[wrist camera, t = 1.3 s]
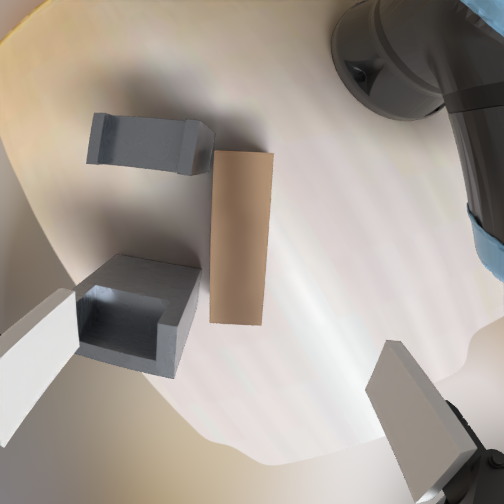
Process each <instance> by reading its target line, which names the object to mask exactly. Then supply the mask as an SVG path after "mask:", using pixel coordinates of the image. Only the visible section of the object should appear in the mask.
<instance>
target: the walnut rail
mask: <svg viewBox="0 0 504 504" xmlns="http://www.w3.org/2000/svg"><path fill="white" fill-rule="evenodd" d="M273 157H274V153H261V152H243V151H220V150H214V167H213V189H212V215H211V249H210V323H220V324H238V325H260V326H261V323H262V311H263V298H264V286H265V273H266V259H267V246H268V232H269V218H270V203H271V188H272V173H273Z"/></svg>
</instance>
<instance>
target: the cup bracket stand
mask: <svg viewBox="0 0 504 504" xmlns="http://www.w3.org/2000/svg"><path fill="white" fill-rule="evenodd" d="M214 139H215V133H214V132H212V131H211V130H210V129H209V128H208V127H207V126H206V125H205V124H204V123H202V122H201V121H200V120H191V119H186V121H180V120H170V119H159V118H147V117H132V116H113V115H110V114H106V113H94V116H93V122H92V127H91V134H90V140H89V147H88V154H87V162H86V164H96V165H99V164H108V165H118V166H128V167H137V168H145V169H153V170H161V171H169V172H177V174H182V175H189V176H192V175H197V174H201V173H206V172H209V168H210V162H211V156H212V151H213V145H214ZM200 277H201V269H198V268H192V267H186V266H181V265H175V264H169V263H164V262H158V261H153V260H147V259H142V258H136V257H131V256H125V255H120V254H117V255H115V256H114V257H113V258H111V259H110V260H109V261H108V262H106V263H105V264H104V265H102V266H101V267H100V268H98V269H97V270H96V271H95V272H93V273H92V274H91V275H89V276H88V277H87V278H86V279H84V280H83V281H82V282H81V283H79V284H78V285H77V286H76V287H74V288H73V289H72V291H75V300H76V315H77V326H78V337H79V346H80V347H79V348H78V349H77V350H76V351H75V353H74V354H78V355H81V356H84V357H87V358H91V359H94V360H98V361H101V362H105V363H108V364H112V365H116V366H120V367H124V368H127V369H131V370H135V371H140V372H144V373H148V374H153V375H157V376H162V377H166V378H171V379H174V377H175V374H176V371H177V368H178V365H179V361H180V358H181V355H182V352H183V349H184V346H185V343H186V340H187V337H188V334H189V331H190V327H191V324H192V321H193V318H194V315H195V312H196V309H197V301H198V293H199V285H200Z"/></svg>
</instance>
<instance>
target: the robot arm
mask: <svg viewBox="0 0 504 504" xmlns="http://www.w3.org/2000/svg"><path fill="white" fill-rule="evenodd" d="M331 48H332V57H333V61H334V64H335V67H336V70H337V72H338V74H339V76H340V78H341V80H342V81H343V83H344V85H345V86H346V87H347V89H348V90H349V91H350V92H351V94H352V95H353V96H354V97H355V98H356V99H357V100H358V101H360V102H361V103H362V104H363V105H364V106H366V107H367V108H369V109H370V110H372V111H373V112H375V113H377V114H379V115H381V116H384V117H386V118H390V119H393V120H399V121H412V120H417V119H422V118H426V117H429V116H432V115H433V114H435V113H437V112H439V111H440V110H441V109H442V108H443V107H444V106H445V105H446V108H447V112H448V113H449V114H448V116H449V119H450V122H451V126H452V129H453V133H454V137H455V141H456V145H457V149H458V153H459V157H460V161H461V166H462V171H463V176H464V181H465V186H466V192H467V198H468V203H467V212H468V215H469V217H470V220H471V222H472V228H473V234H474V241H475V247H476V251H477V254H478V256H479V258H480V260H481V262H482V263H483V265H484V266H485V267H486V268H487V269H488V270H489V271H491V272H492V273H493V275H494V276H495V277H496V278H497V279H499V280H500V281H502V282H503V283H504V0H365V1H362V2H359V3H357V4H355V5H354V6H352V7H351V8H350V9H349V10H347V11H346V12H345V14H344V15H343V16H342V18H341V19H340V21H339V22H338V24H337V25H336V27H335V29H334V32H333V36H332V43H331ZM79 347H80V346H79V337H78V326H77V315H76V300H75V291H72V290H68V289H64V288H59V289H58V290H57V291H55V292H54V293H53V294H51V295H50V296H49V297H48V298H46V299H45V300H44V301H42V302H41V303H40V304H39V305H38V306H36V307H35V308H34V309H33V310H31V311H30V312H29V313H28V314H26V315H25V316H24V317H23V318H21V319H20V320H19V321H18V322H16V323H15V324H14V325H13V326H12V327H10V328H9V329H8V330H7V331H6V332H5V333H3V334H2V335H1V334H0V445H1V446H2V447H5V446H6V444H7V443H8V441H9V440H10V438H11V437H12V435H13V434H14V432H15V431H16V430H17V428H18V427H19V425H20V424H21V422H22V421H23V420H24V418H25V417H26V415H27V414H28V413H29V411H30V410H31V409H32V407H33V406H34V404H35V403H36V402H37V400H38V399H39V398H40V396H41V395H42V394H43V392H44V391H45V390H46V388H47V387H48V386H49V384H50V383H51V382H52V381H53V379H54V378H55V377H56V375H57V374H58V373H59V372H60V370H61V369H62V368H63V366H64V365H65V364H66V363H67V361H68V360H69V359H70V357H71V356H72V355H73V354H74V353H75V351H76V350H77V349H78V348H79ZM365 391H366V393H367V395H368V397H369V399H370V401H371V404H372V406H373V408H374V410H375V412H376V414H377V417H378V419H379V421H380V423H381V425H382V428H383V430H384V432H385V434H386V437H387V439H388V441H389V443H390V445H391V447H392V450H393V452H394V455H395V457H396V459H397V462H398V464H399V466H400V468H401V471H402V473H403V476H404V478H405V480H406V482H407V485H408V487H409V490H410V492H411V495H412V497H413V499H414V502H415V503H420V502H424V501H427V500H431V499H433V498H434V497H435V496H436V495H437V494H438V493H439V492H440V491H441V490H443V492H444V494H445V495H444V496H443V498H441V499H440V500H439V501H438V502H437V503H436V504H504V454H503V453H502V452H499V451H498V450H495V449H489V450H486V449H485V448H484V446H483V445H482V443H481V442H480V440H479V439H478V437H477V436H476V434H475V433H474V432H473V430H472V429H471V427H470V426H469V425H468V423H467V421H466V420H465V419H464V418H463V416H462V415H461V413H460V412H459V410H458V409H457V408H456V407H455V406H454V405H453V404H451V403H450V402H449V401H448V400H444V398H443V397H442V396H441V394H440V393H439V391H438V390H437V389H436V387H435V386H434V385H433V383H432V382H431V381H430V379H429V378H428V376H427V375H426V374H425V372H424V371H423V370H422V368H421V367H420V366H419V364H418V363H417V362H416V360H415V359H414V358H413V356H412V355H411V354H410V353H409V351H408V350H407V349H406V347H405V346H404V345H403V343H402V342H401V341H391V340H386V342H385V344H384V347H383V349H382V352H381V354H380V357H379V359H378V362H377V364H376V366H375V369H374V371H373V373H372V376H371V378H370V380H369V382H368V384H367V387H366V389H365Z"/></svg>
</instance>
